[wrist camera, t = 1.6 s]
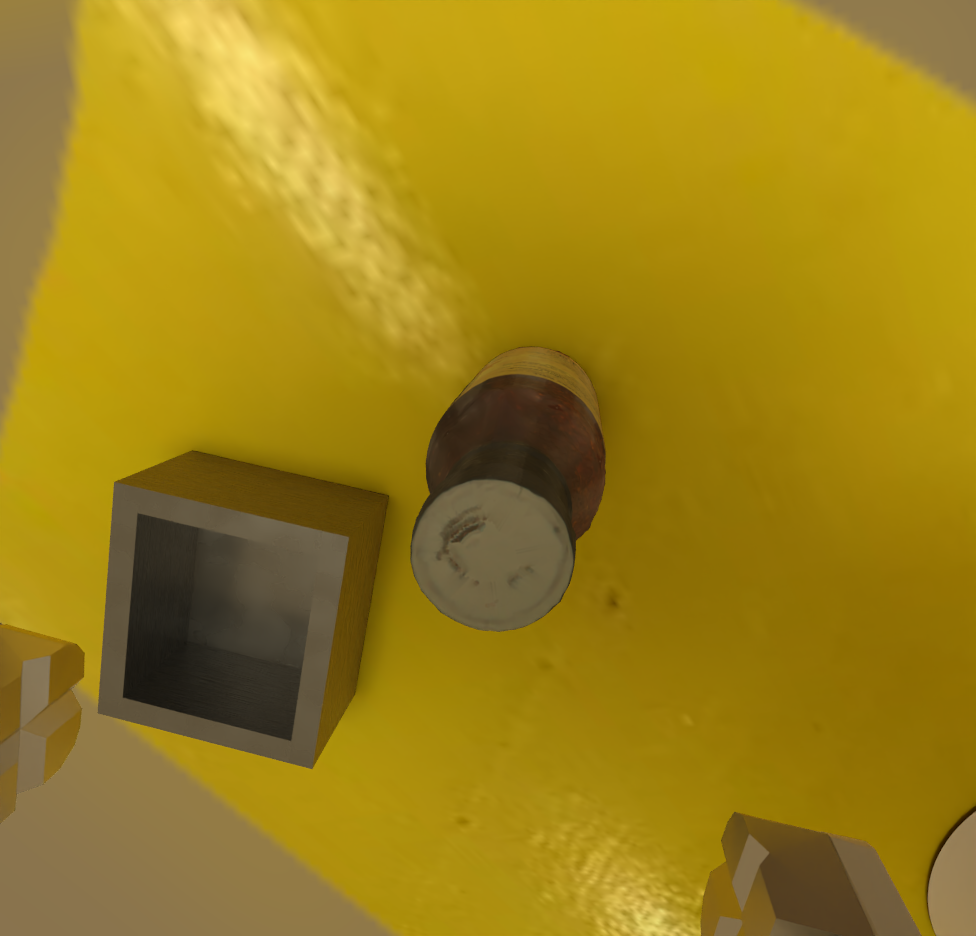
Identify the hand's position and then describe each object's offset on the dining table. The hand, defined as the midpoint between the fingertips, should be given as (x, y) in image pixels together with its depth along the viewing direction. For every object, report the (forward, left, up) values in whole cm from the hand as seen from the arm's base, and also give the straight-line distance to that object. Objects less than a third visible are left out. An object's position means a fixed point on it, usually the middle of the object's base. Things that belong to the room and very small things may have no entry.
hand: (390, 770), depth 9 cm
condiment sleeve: (+12, +12, -29) cm, 33 cm away
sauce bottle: (0, 0, -29) cm, 29 cm away
